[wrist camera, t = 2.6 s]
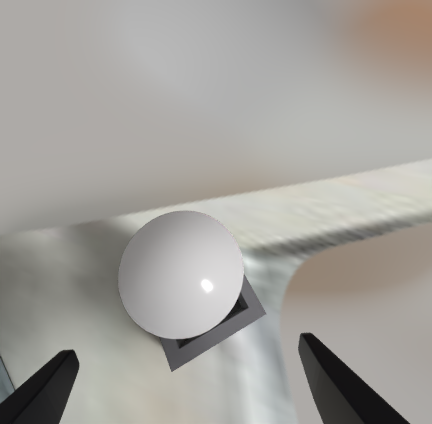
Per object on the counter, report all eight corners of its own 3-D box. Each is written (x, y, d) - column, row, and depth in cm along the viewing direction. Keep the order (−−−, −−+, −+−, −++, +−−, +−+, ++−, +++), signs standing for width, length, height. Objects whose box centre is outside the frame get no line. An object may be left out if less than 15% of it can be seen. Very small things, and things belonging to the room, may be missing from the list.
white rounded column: (231, 304, 18) (267, 295, 6) (189, 328, 17) (142, 369, 6) (210, 263, 20) (209, 194, 8) (171, 283, 19) (103, 240, 7)
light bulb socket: (256, 312, 18) (266, 313, 15) (179, 359, 16) (171, 371, 13) (217, 241, 21) (218, 228, 17) (148, 275, 19) (135, 268, 16)
